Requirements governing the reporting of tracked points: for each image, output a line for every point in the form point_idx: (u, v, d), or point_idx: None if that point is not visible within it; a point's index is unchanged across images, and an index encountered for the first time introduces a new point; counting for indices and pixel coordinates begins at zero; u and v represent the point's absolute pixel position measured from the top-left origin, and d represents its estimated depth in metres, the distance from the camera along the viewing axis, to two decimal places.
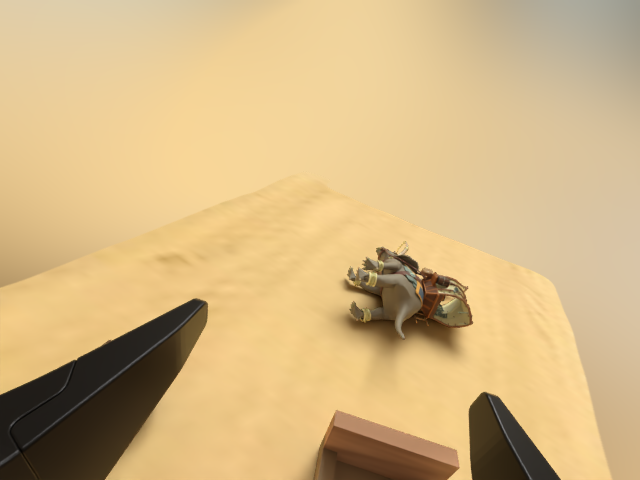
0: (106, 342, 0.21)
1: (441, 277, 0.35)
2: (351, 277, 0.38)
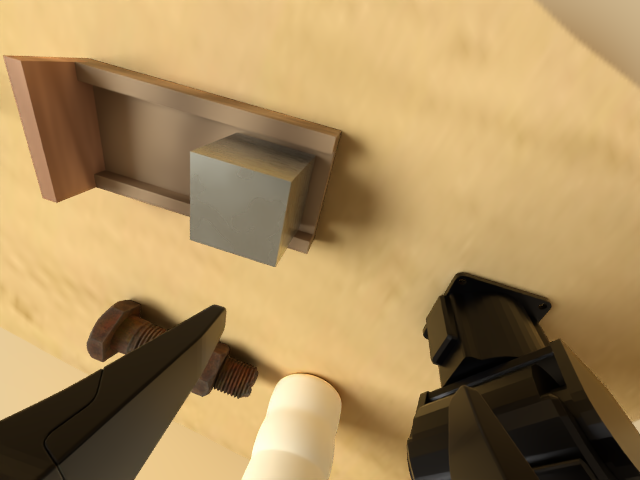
0: None
1: None
2: None
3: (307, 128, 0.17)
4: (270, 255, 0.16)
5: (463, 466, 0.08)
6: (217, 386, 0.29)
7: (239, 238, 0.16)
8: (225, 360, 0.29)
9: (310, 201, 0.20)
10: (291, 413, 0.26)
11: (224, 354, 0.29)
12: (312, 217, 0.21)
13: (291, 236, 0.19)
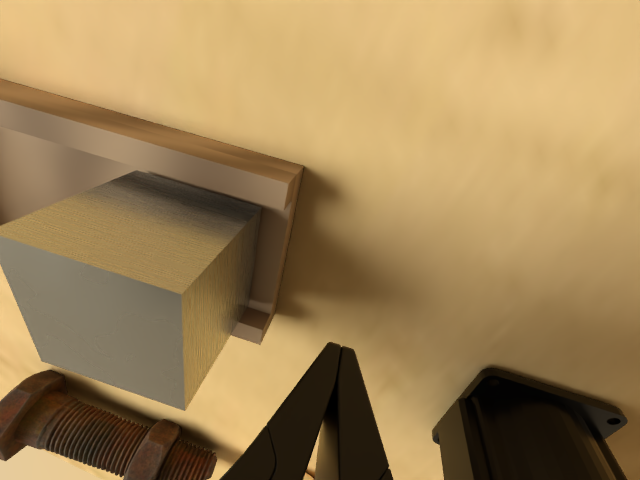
0: None
1: None
2: None
3: (240, 168, 0.10)
4: (172, 395, 0.09)
5: (325, 419, 0.08)
6: None
7: (117, 368, 0.09)
8: (171, 449, 0.22)
9: (261, 270, 0.13)
10: None
11: (169, 443, 0.22)
12: (266, 291, 0.14)
13: (226, 335, 0.12)
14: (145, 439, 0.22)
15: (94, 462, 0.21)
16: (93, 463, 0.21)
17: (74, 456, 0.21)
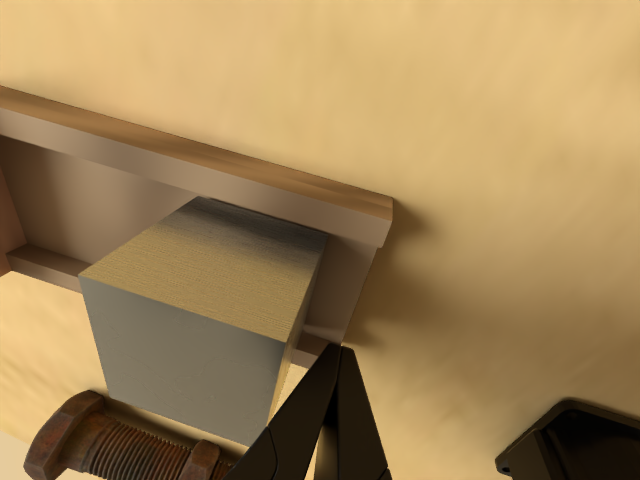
0: None
1: None
2: None
3: (340, 204, 0.10)
4: (250, 435, 0.09)
5: (325, 419, 0.08)
6: None
7: (194, 408, 0.09)
8: (214, 472, 0.22)
9: (338, 301, 0.13)
10: None
11: (212, 465, 0.22)
12: (340, 322, 0.13)
13: (289, 365, 0.11)
14: (188, 462, 0.21)
15: None
16: None
17: None
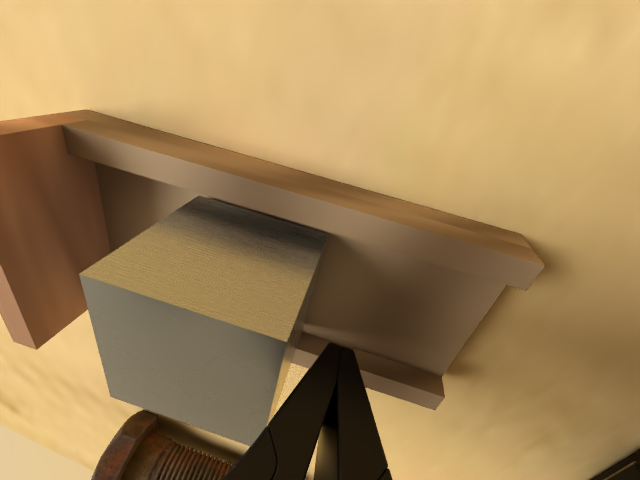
0: None
1: None
2: None
3: (487, 247, 0.09)
4: (250, 435, 0.09)
5: (325, 419, 0.08)
6: None
7: (194, 407, 0.09)
8: None
9: (448, 336, 0.12)
10: None
11: None
12: (446, 355, 0.13)
13: (289, 365, 0.11)
14: None
15: None
16: None
17: None
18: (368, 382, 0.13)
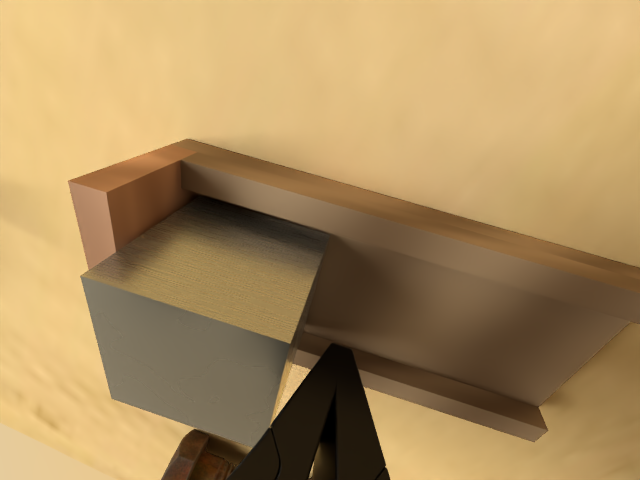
0: None
1: None
2: None
3: (631, 288, 0.09)
4: (253, 436, 0.09)
5: None
6: None
7: (196, 408, 0.09)
8: None
9: (555, 368, 0.12)
10: None
11: None
12: (548, 387, 0.13)
13: (291, 366, 0.11)
14: None
15: None
16: None
17: None
18: (466, 414, 0.13)
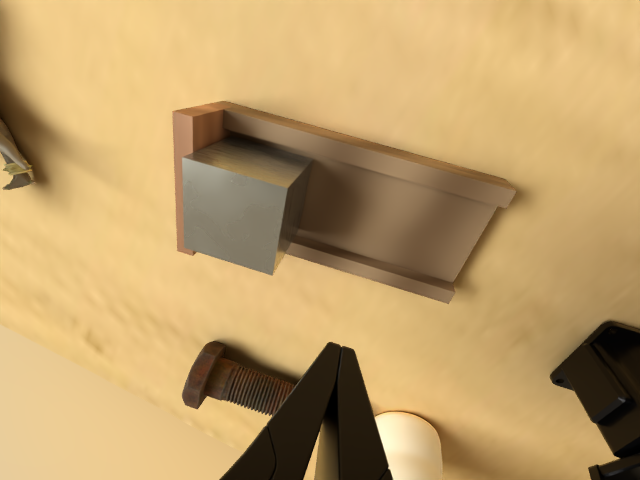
0: (187, 405, 0.27)
1: None
2: None
3: (483, 181, 0.16)
4: (266, 263, 0.16)
5: (325, 419, 0.08)
6: None
7: (235, 246, 0.16)
8: None
9: (458, 250, 0.19)
10: (403, 459, 0.25)
11: None
12: (456, 265, 0.19)
13: (289, 242, 0.18)
14: None
15: (264, 408, 0.27)
16: (263, 409, 0.27)
17: (249, 404, 0.27)
18: (403, 285, 0.20)
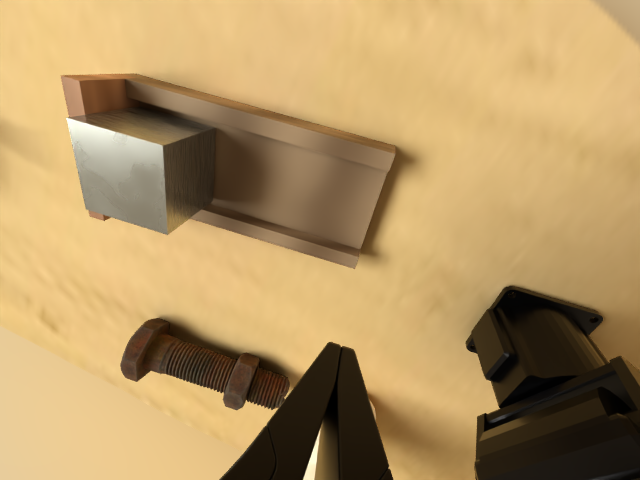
0: (127, 378, 0.28)
1: None
2: None
3: (365, 145, 0.17)
4: (160, 222, 0.17)
5: (325, 419, 0.08)
6: (250, 398, 0.28)
7: (129, 206, 0.16)
8: (256, 372, 0.29)
9: (360, 216, 0.20)
10: None
11: (255, 366, 0.29)
12: (360, 232, 0.20)
13: (195, 207, 0.19)
14: (237, 363, 0.29)
15: (201, 380, 0.28)
16: (200, 381, 0.28)
17: (186, 376, 0.28)
18: (312, 251, 0.21)
